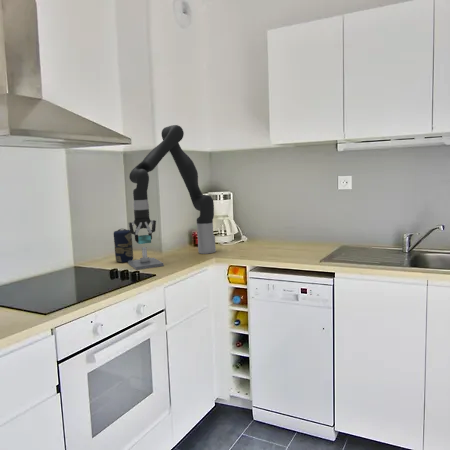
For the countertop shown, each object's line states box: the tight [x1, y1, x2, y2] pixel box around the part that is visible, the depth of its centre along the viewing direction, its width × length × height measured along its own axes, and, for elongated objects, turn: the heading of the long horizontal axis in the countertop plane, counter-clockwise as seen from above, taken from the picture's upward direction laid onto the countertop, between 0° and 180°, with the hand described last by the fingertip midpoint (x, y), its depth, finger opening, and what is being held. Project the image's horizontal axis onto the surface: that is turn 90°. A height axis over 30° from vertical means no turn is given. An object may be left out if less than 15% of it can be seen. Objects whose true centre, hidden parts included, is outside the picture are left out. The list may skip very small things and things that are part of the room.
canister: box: [113, 228, 134, 263], centre depth 229 cm, size 10×10×18 cm
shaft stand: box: [127, 246, 165, 271], centre depth 217 cm, size 14×18×9 cm
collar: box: [136, 234, 152, 245], centre depth 216 cm, size 6×6×4 cm
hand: (143, 241), depth 216 cm, fingers closed on collar, 6 cm apart
